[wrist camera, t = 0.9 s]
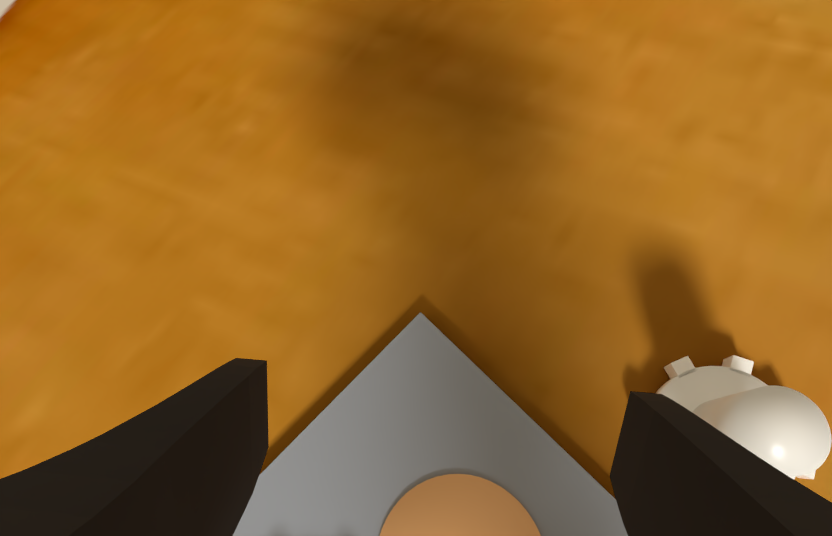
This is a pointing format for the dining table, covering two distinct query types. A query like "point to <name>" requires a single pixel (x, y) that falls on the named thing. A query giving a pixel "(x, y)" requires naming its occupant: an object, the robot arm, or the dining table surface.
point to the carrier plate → (426, 459)
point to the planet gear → (753, 413)
